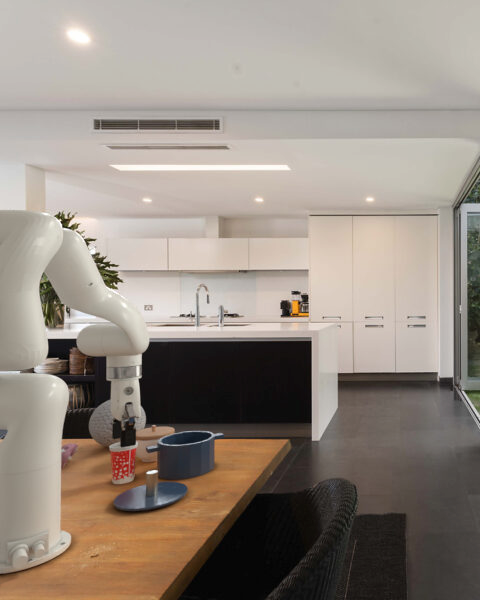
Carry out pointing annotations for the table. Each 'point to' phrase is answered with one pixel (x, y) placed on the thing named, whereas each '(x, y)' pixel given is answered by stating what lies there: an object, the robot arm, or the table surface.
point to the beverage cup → (122, 463)
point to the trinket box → (150, 441)
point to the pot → (185, 454)
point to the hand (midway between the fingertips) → (123, 441)
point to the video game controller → (67, 453)
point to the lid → (150, 494)
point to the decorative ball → (108, 424)
